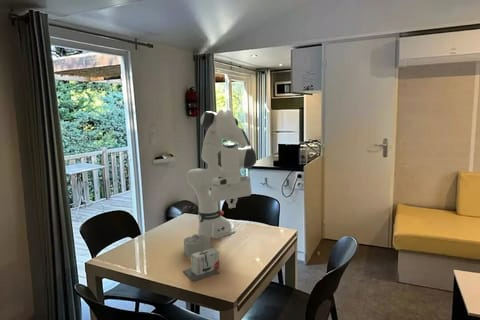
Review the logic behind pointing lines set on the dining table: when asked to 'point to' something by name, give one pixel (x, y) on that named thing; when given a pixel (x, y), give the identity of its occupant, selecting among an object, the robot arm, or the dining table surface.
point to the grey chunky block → (196, 244)
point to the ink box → (205, 261)
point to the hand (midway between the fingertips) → (232, 207)
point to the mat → (195, 277)
